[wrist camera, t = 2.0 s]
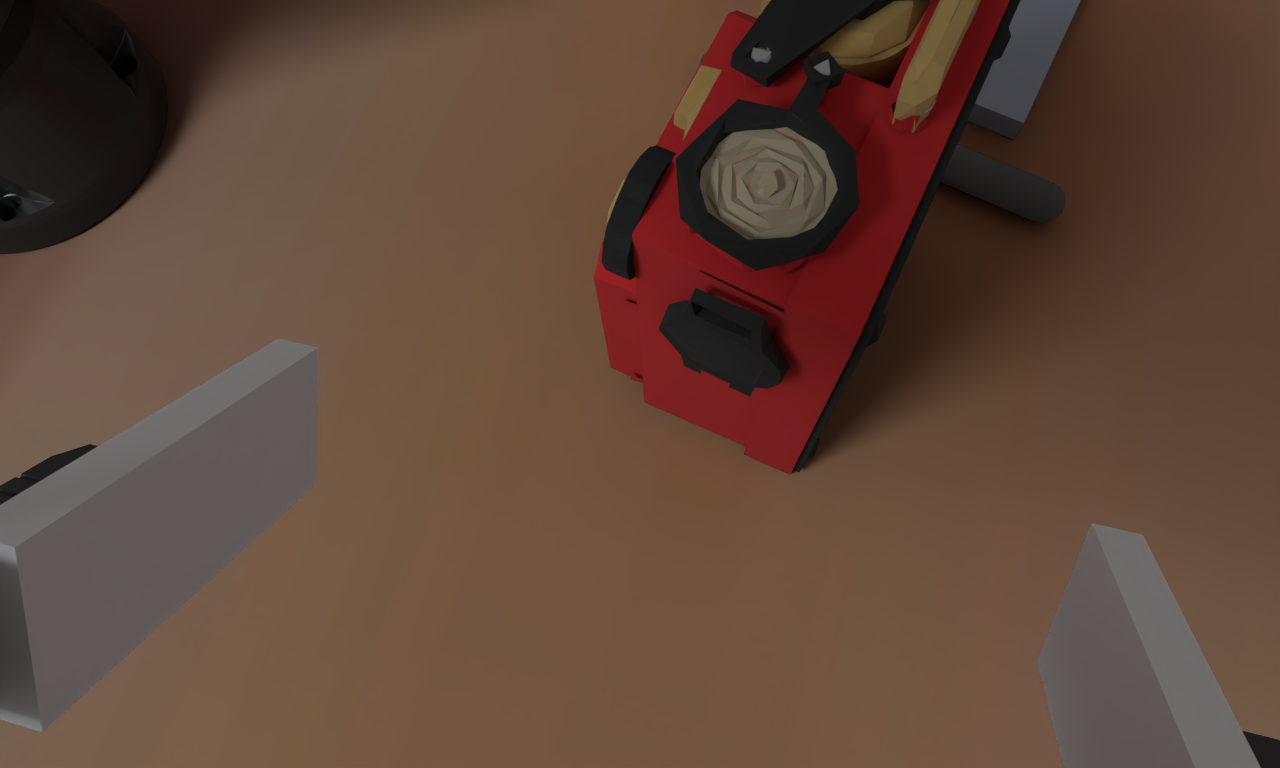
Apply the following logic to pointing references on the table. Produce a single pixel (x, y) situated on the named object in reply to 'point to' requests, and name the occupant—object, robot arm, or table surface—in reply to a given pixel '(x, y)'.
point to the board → (1022, 65)
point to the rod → (1002, 185)
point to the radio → (787, 208)
